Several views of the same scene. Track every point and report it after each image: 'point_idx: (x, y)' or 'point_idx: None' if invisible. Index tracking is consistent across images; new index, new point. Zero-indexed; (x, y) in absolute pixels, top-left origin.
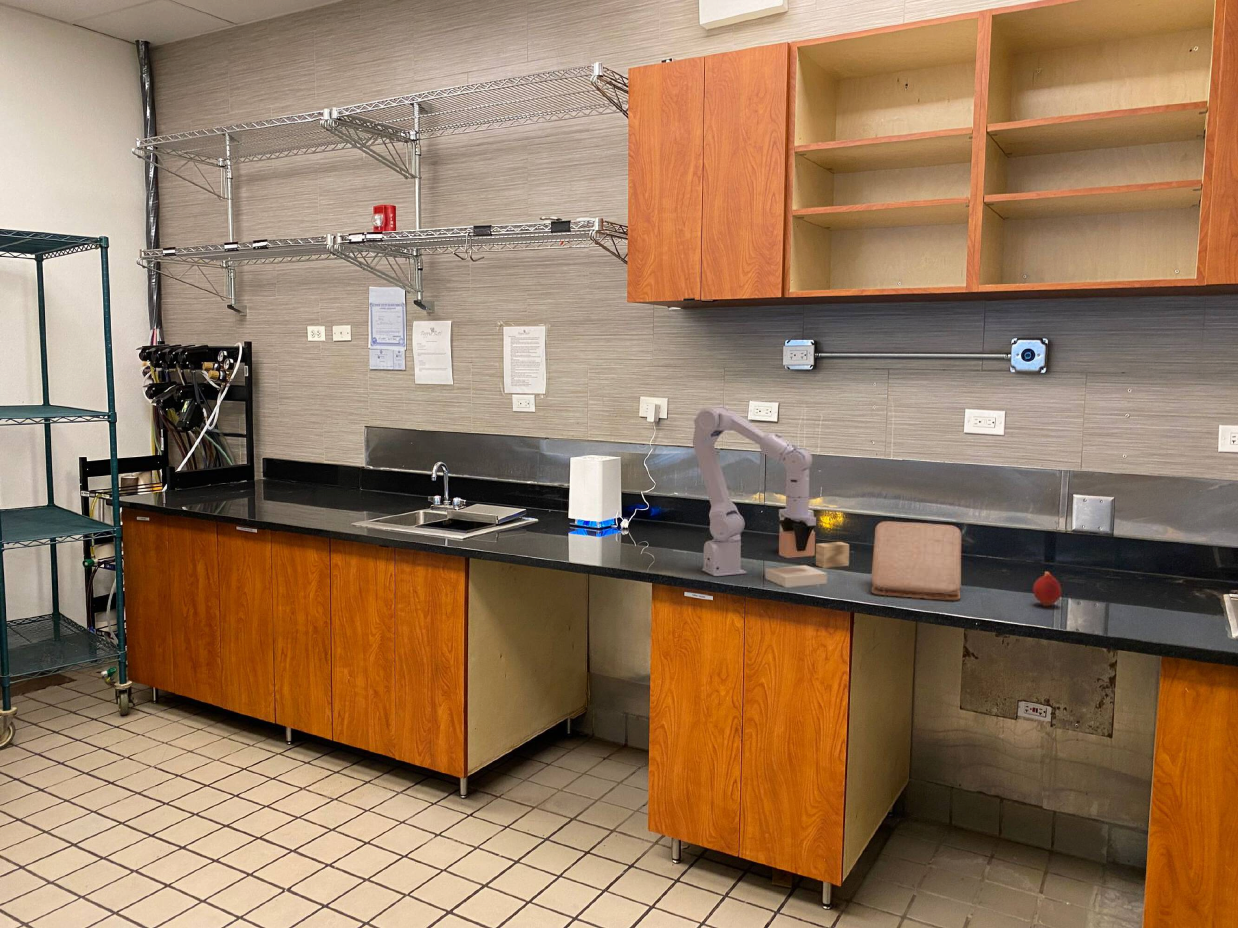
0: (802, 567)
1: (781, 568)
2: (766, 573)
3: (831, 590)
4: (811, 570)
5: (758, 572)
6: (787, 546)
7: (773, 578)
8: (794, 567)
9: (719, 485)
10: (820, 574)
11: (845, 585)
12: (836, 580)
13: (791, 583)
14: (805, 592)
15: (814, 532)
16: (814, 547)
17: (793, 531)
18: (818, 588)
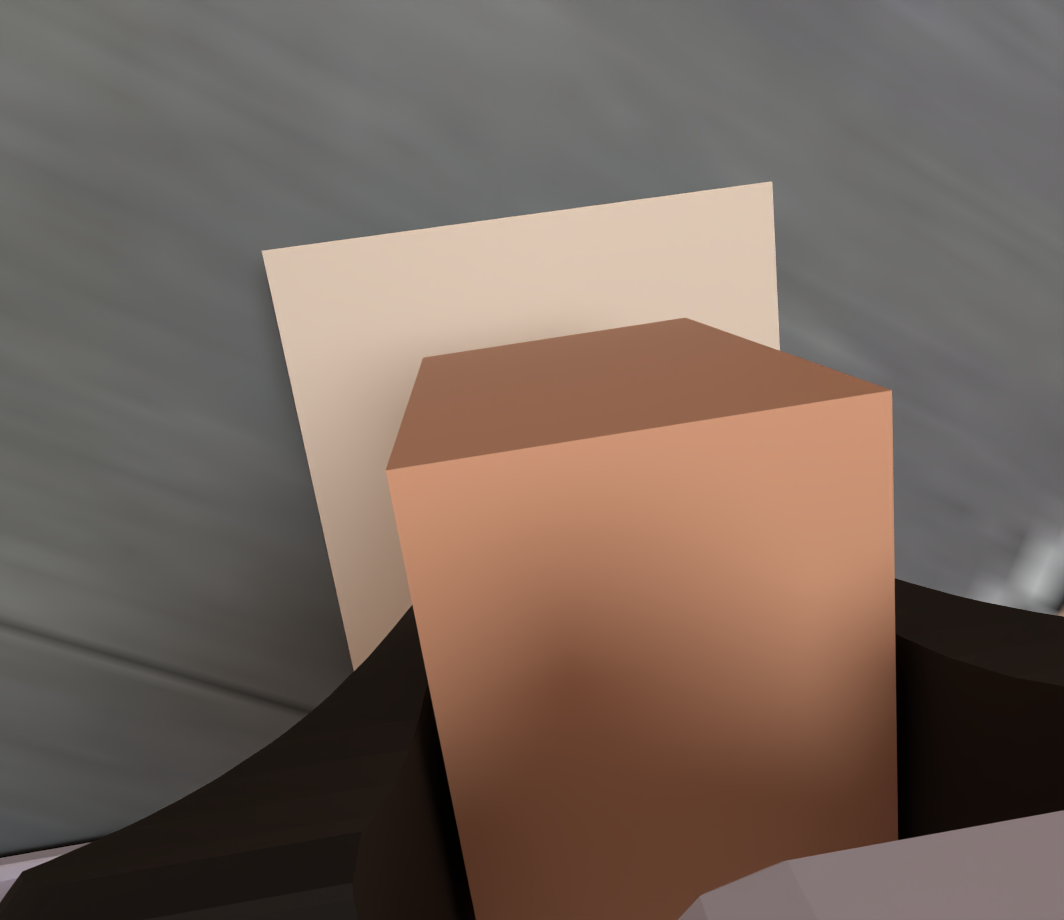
0: (387, 351)
1: (392, 614)
2: None
3: (1015, 289)
4: (575, 310)
5: (115, 703)
6: None
7: None
8: (369, 450)
9: None
10: (775, 281)
11: (892, 26)
12: (650, 9)
13: None
14: (984, 557)
15: (882, 404)
16: (729, 337)
17: (597, 913)
18: (901, 381)
